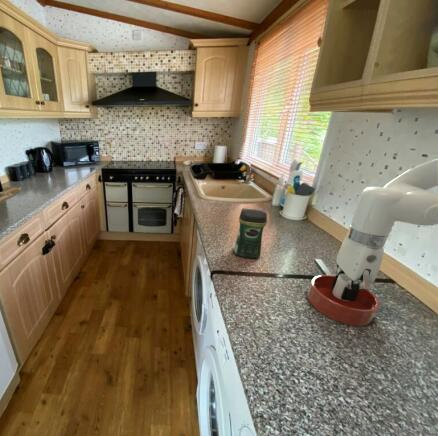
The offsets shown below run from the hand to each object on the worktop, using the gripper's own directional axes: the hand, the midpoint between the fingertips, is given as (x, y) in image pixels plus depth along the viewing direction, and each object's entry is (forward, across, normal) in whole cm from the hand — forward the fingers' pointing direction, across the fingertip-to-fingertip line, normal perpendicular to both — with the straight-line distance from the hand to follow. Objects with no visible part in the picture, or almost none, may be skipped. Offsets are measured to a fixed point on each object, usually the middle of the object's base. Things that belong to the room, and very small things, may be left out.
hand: (342, 293), depth 68 cm
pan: (+4, 0, 0) cm, 4 cm away
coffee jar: (+5, +24, +22) cm, 33 cm away
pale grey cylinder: (+1, 0, 0) cm, 1 cm away
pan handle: (+1, +13, 0) cm, 13 cm away
